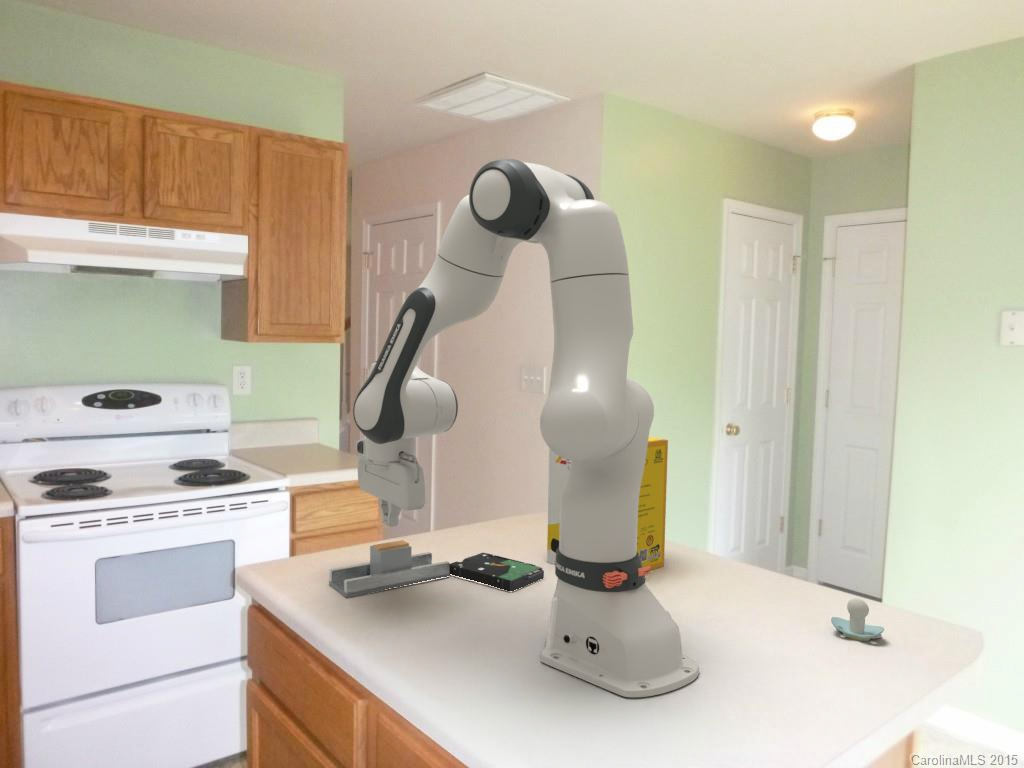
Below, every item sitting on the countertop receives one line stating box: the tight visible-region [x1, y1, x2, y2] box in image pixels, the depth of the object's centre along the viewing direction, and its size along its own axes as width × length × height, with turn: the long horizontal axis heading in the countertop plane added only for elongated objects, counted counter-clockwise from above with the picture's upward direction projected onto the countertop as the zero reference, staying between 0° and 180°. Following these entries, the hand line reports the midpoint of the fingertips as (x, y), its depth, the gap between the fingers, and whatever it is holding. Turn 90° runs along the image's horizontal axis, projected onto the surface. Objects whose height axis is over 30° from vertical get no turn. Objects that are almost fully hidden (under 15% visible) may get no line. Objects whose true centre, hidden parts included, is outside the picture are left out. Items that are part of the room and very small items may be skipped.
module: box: [369, 539, 413, 575], centre depth 136 cm, size 4×6×6 cm
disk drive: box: [449, 552, 545, 592], centre depth 140 cm, size 10×3×15 cm
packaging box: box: [546, 436, 669, 573], centre depth 148 cm, size 16×16×25 cm
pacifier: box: [830, 597, 885, 642], centre depth 115 cm, size 7×6×6 cm
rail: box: [328, 551, 451, 599], centre depth 136 cm, size 8×20×3 cm, turn 125°
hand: (390, 524), depth 136 cm, fingers closed
